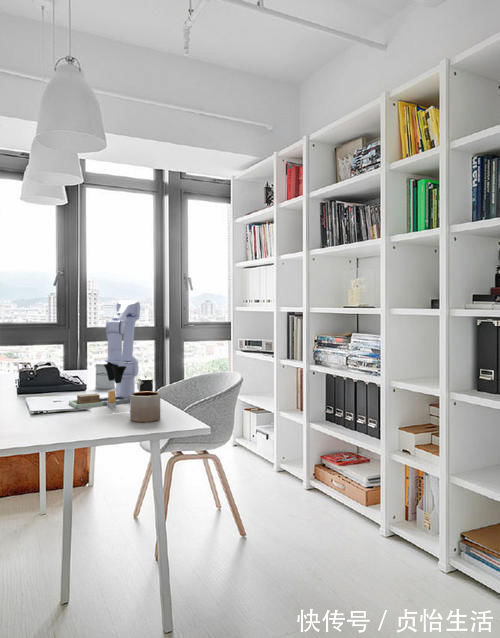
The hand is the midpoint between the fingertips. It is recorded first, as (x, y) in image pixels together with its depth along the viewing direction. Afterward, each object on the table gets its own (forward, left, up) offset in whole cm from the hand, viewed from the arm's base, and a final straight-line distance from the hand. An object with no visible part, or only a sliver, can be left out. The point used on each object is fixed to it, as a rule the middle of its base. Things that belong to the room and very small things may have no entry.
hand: (114, 381), depth 209 cm
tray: (-4, -10, -10) cm, 15 cm away
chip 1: (-4, -12, -9) cm, 15 cm away
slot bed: (-4, 0, -10) cm, 11 cm away
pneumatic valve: (+3, +12, -10) cm, 16 cm away
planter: (+31, 0, -10) cm, 32 cm away
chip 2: (-4, -8, -9) cm, 13 cm away
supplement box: (-45, +12, -10) cm, 48 cm away
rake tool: (+4, -3, -10) cm, 11 cm away
